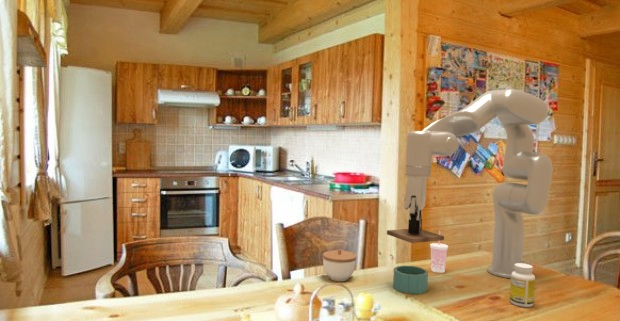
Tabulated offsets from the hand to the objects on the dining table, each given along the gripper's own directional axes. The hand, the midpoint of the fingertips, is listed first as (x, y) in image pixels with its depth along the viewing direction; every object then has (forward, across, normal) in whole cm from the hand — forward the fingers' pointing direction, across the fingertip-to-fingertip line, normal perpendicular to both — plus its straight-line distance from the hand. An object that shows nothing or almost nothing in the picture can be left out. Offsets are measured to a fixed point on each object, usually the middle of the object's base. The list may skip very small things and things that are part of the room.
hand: (414, 231), depth 135 cm
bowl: (+18, 0, -1) cm, 18 cm away
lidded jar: (+18, +2, -23) cm, 29 cm away
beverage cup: (+18, -23, +5) cm, 30 cm away
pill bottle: (+18, -2, +30) cm, 35 cm away
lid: (+2, 0, 0) cm, 2 cm away
